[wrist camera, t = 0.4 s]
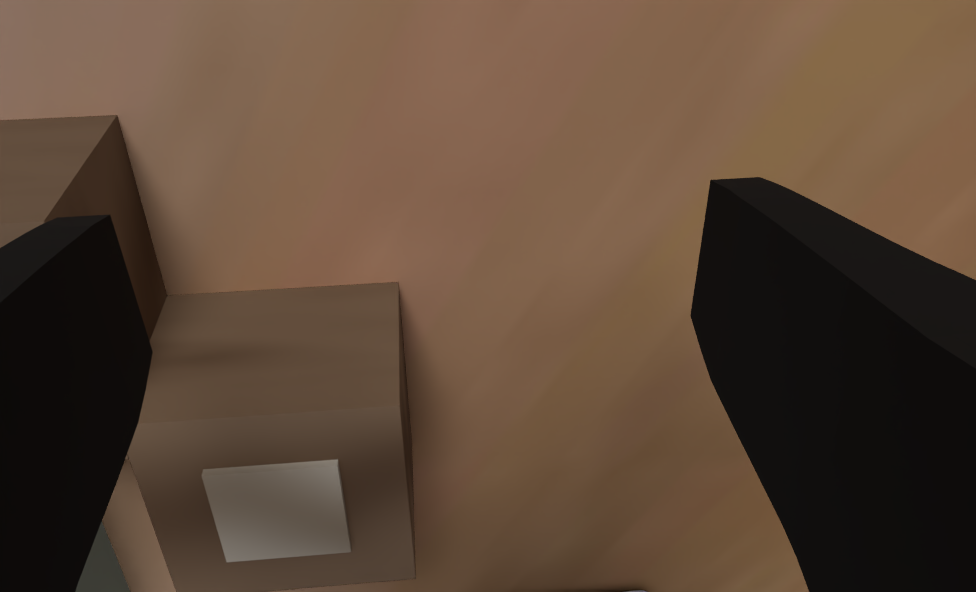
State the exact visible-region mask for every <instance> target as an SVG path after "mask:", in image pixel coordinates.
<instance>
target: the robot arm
mask: <svg viewBox="0 0 976 592" xmlns="http://www.w3.org/2000/svg"><path fill="white" fill-rule="evenodd" d="M691 319H692V322H693V325H694V329H695V332H696V335H697V339H698V342H699V345H700V348H701V352H702V355H703V358H704V361H705V364H706V367H707V370H708V372H709V375H710V378H711V381H712V383H713V385H714V387H715V389H716V392H717V394H718V396H719V398H720V400H721V402H722V404H723V406H724V408H725V410H726V412H727V414H728V416H729V418H730V421H731V423H732V425H733V427H734V429H735V431H736V433H737V435H738V437H739V439H740V441H741V443H742V445H743V447H744V449H745V451H746V453H747V455H748V457H749V459H750V461H751V463H752V465H753V467H754V469H755V471H756V473H757V475H758V477H759V479H760V481H761V483H762V485H763V487H764V489H765V491H766V493H767V495H768V497H769V499H770V501H771V503H772V505H773V507H774V509H775V511H776V513H777V515H778V517H779V519H780V521H781V523H782V525H783V527H784V530H785V532H786V534H787V536H788V539H789V541H790V543H791V545H792V548H793V550H794V552H795V555H796V557H797V559H798V562H799V565H800V568H801V570H802V573H803V576H804V579H805V581H806V584H807V587H808V589H809V592H976V280H974V279H972V278H970V277H967V276H965V275H963V274H961V273H958V272H956V271H954V270H952V269H949V268H947V267H945V266H943V265H941V264H938V263H936V262H934V261H932V260H929V259H927V258H925V257H923V256H921V255H919V254H917V253H915V252H913V251H911V250H909V249H907V248H904V247H902V246H900V245H898V244H896V243H894V242H892V241H890V240H888V239H886V238H884V237H882V236H880V235H878V234H876V233H874V232H872V231H871V230H869V229H867V228H865V227H863V226H861V225H859V224H857V223H855V222H853V221H851V220H849V219H847V218H845V217H843V216H841V215H839V214H837V213H835V212H834V211H832V210H830V209H828V208H826V207H824V206H822V205H820V204H818V203H816V202H814V201H812V200H810V199H808V198H806V197H804V196H802V195H800V194H798V193H796V192H794V191H792V190H790V189H788V188H785V187H783V186H781V185H779V184H776V183H774V182H771V181H769V180H766V179H763V178H760V177H755V178H737V179H720V180H711V181H710V188H709V195H708V201H707V208H706V215H705V222H704V228H703V235H702V242H701V249H700V255H699V262H698V269H697V276H696V282H695V289H694V296H693V303H692V309H691ZM152 354H153V351H152V348H151V345H150V341H149V338H148V335H147V332H146V328H145V325H144V322H143V319H142V316H141V312H140V309H139V306H138V303H137V299H136V296H135V293H134V290H133V286H132V283H131V280H130V277H129V274H128V270H127V267H126V264H125V261H124V257H123V254H122V251H121V248H120V244H119V241H118V238H117V235H116V232H115V228H114V225H113V222H112V219H111V215H92V216H75V217H57V218H55V219H53V220H50V221H48V222H46V223H44V224H42V225H40V226H38V227H36V228H34V229H32V230H30V231H28V232H27V233H25V234H23V235H21V236H20V237H18V238H16V239H14V240H13V241H11V242H9V243H8V244H6V245H4V246H3V247H1V248H0V592H75V591H76V588H77V585H78V582H79V579H80V577H81V574H82V572H83V569H84V566H85V564H86V561H87V558H88V556H89V553H90V551H91V548H92V545H93V543H94V540H95V537H96V535H97V532H98V529H99V527H100V524H101V522H102V519H103V516H104V514H105V511H106V508H107V506H108V503H109V501H110V498H111V495H112V493H113V490H114V487H115V485H116V482H117V480H118V477H119V474H120V471H121V469H122V466H123V463H124V461H125V458H126V455H127V452H128V450H129V447H130V444H131V442H132V439H133V436H134V433H135V430H136V427H137V425H138V422H139V417H140V413H141V409H142V404H143V400H144V395H145V391H146V386H147V380H148V375H149V370H150V364H151V359H152ZM624 592H647V591H644V590H635V591H624Z"/></svg>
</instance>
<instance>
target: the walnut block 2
mask: <svg viewBox="0 0 976 592" xmlns="http://www.w3.org/2000/svg"><path fill="white" fill-rule="evenodd" d="M150 345H151V348H152V351H153V354H152V359H151V364H150V370H149V375H148V380H147V386H146V391H145V395H144V400H143V404H142V409H141V413H140V417H139V422H138V425H137V427H136V430H135V433H134V436H133V439H132V442H131V444H130V447H129V450H128V452H127V454H128V457H129V460H130V463H131V466H132V468H133V471H134V474H135V477H136V480H137V482H138V485H139V488H140V491H141V494H142V497H143V499H144V502H145V505H146V508H147V511H148V513H149V516H150V519H151V522H152V525H153V527H154V530H155V533H156V536H157V539H158V542H159V544H160V547H161V550H162V553H163V556H164V558H165V561H166V564H167V567H168V570H169V573H170V575H171V578H172V581H173V584H174V587H175V589H176V592H265V591H276V590H288V589H300V588H312V587H324V586H336V585H347V584H359V583H371V582H383V581H395V580H407V579H416V572H415V535H414V498H413V461H412V438H411V426H410V414H409V403H408V391H407V379H406V367H405V356H404V344H403V332H402V320H401V308H400V297H399V285H398V282H391V283H373V284H356V285H339V286H322V287H305V288H288V289H271V290H253V291H236V292H219V293H202V294H185V295H168V296H167V297H166V300H165V303H164V305H163V308H162V310H161V313H160V315H159V318H158V321H157V323H156V326H155V328H154V331H153V334H152V336H151V339H150Z"/></svg>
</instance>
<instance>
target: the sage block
mask: <svg viewBox="0 0 976 592" xmlns="http://www.w3.org/2000/svg"><path fill="white" fill-rule="evenodd" d="M75 592H130V590H129V587H128V585H127V582H126V580H125V577H124V575H123V573H122V570H121V568H120V565H119V563H118V560H117V558H116V555H115V553H114V550H113V548H112V545H111V543H110V540H109V538H108V535H107V533H106V531H105V528H104V526H103V523H102V522H101V524H100V527H99V529H98V532H97V535H96V537H95V540H94V543H93V545H92V548H91V551H90V553H89V556H88V558H87V561H86V564H85V566H84V569H83V572H82V574H81V577H80V579H79V582H78V585H77V588H76V591H75Z"/></svg>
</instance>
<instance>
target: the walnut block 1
mask: <svg viewBox="0 0 976 592" xmlns="http://www.w3.org/2000/svg"><path fill="white" fill-rule="evenodd" d="M92 215H111V219H112V222H113V225H114V228H115V232H116V235H117V238H118V241H119V244H120V248H121V251H122V254H123V257H124V261H125V264H126V267H127V270H128V274H129V277H130V280H131V283H132V286H133V290H134V293H135V296H136V299H137V303H138V306H139V309H140V312H141V316H142V319H143V322H144V325H145V328H146V332H147V335H148V338H149V341H150V339H151V336H152V334H153V331H154V328H155V326H156V323H157V321H158V318H159V315H160V313H161V310H162V308H163V305H164V303H165V300H166V297H167V293H166V290H165V286H164V283H163V279H162V275H161V272H160V268H159V265H158V261H157V257H156V254H155V250H154V247H153V243H152V239H151V236H150V232H149V228H148V225H147V221H146V218H145V214H144V210H143V207H142V203H141V200H140V196H139V192H138V189H137V185H136V182H135V178H134V174H133V171H132V167H131V164H130V160H129V156H128V153H127V149H126V146H125V142H124V138H123V135H122V131H121V128H120V124H119V120H118V117H117V115H110V116H87V117H65V118H42V119H20V120H0V248H1V247H3V246H4V245H6V244H8V243H9V242H11V241H13V240H14V239H16V238H18V237H20V236H21V235H23V234H25V233H27V232H28V231H30V230H32V229H34V228H36V227H38V226H40V225H42V224H44V223H46V222H48V221H50V220H53V219H55V218H57V217H75V216H92ZM125 459H129V457H128V454H127V455H126V458H125Z"/></svg>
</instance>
